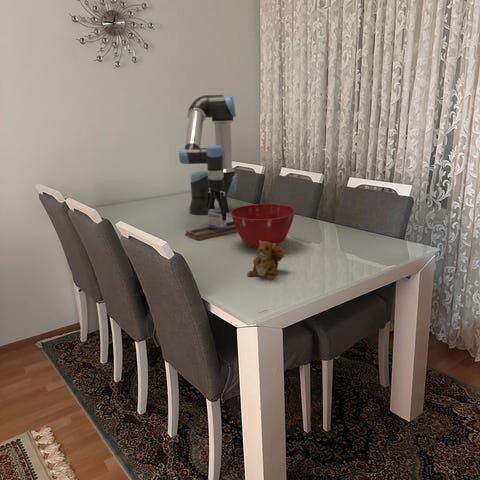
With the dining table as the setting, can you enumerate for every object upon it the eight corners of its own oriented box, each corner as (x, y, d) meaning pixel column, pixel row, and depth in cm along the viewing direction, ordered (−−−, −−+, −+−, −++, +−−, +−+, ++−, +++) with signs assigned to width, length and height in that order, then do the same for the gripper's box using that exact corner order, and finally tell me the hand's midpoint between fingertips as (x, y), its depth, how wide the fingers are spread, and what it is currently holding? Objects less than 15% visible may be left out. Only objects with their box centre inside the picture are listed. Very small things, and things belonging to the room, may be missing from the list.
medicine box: (208, 227, 222) (207, 210, 220) (213, 225, 226) (212, 208, 224) (222, 229, 219) (221, 211, 216) (226, 227, 223) (226, 209, 220)
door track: (185, 235, 219) (184, 230, 219) (235, 224, 236) (235, 219, 235) (198, 241, 210) (197, 235, 209) (249, 229, 227) (249, 224, 226)
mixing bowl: (241, 257, 187) (240, 221, 182) (224, 238, 213) (223, 206, 208) (305, 250, 194) (305, 215, 189) (281, 232, 220) (281, 201, 215)
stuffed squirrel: (245, 276, 166) (244, 242, 162) (265, 265, 177) (265, 233, 173) (268, 282, 161) (268, 247, 157) (288, 270, 172) (288, 236, 168)
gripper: (196, 176, 222) (199, 221, 228) (222, 182, 205) (224, 230, 211) (209, 175, 226) (211, 218, 233) (235, 180, 209) (237, 227, 215)
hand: (217, 224), depth 222 cm, fingers open, 10 cm apart
